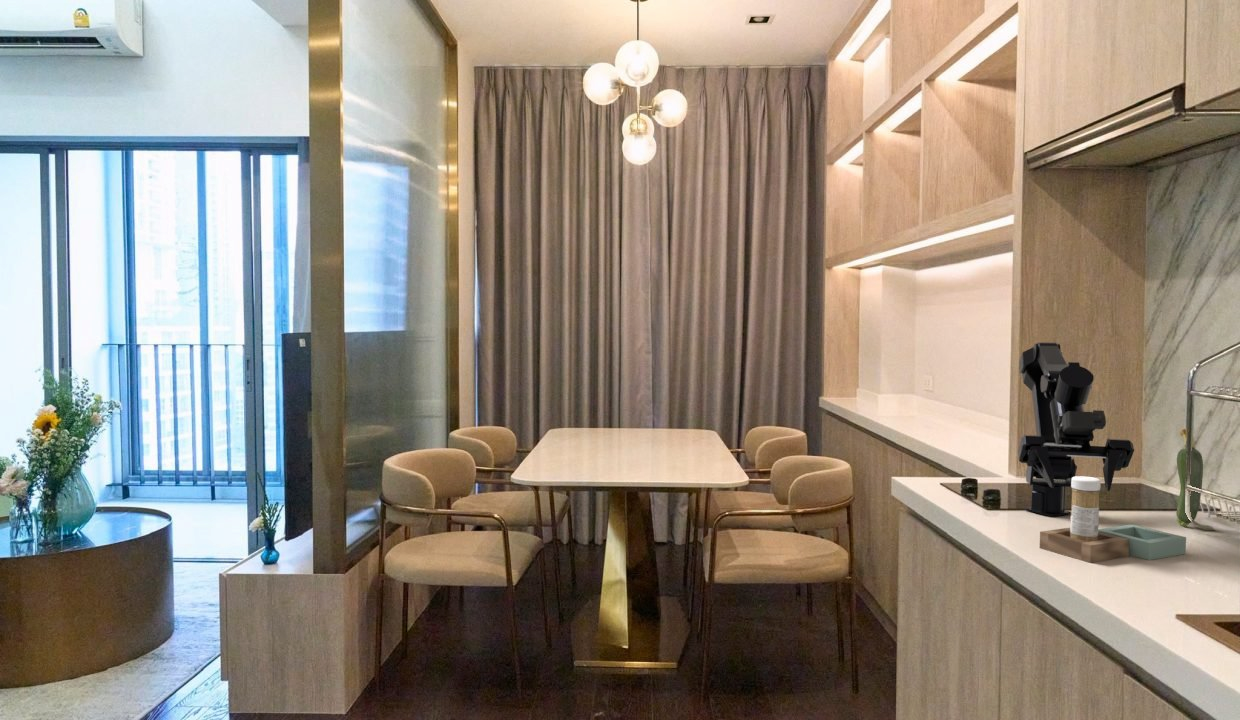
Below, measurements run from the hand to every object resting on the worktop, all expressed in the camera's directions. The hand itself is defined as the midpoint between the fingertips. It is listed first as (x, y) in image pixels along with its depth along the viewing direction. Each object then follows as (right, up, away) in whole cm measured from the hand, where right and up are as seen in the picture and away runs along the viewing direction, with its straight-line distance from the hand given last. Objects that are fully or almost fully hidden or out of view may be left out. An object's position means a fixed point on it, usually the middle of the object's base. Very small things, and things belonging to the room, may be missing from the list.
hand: (1080, 488), depth 153 cm
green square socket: (+10, -11, -1) cm, 15 cm away
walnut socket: (-1, -11, -3) cm, 11 cm away
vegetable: (+30, -11, +16) cm, 35 cm away
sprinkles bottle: (-1, -11, -3) cm, 12 cm away
